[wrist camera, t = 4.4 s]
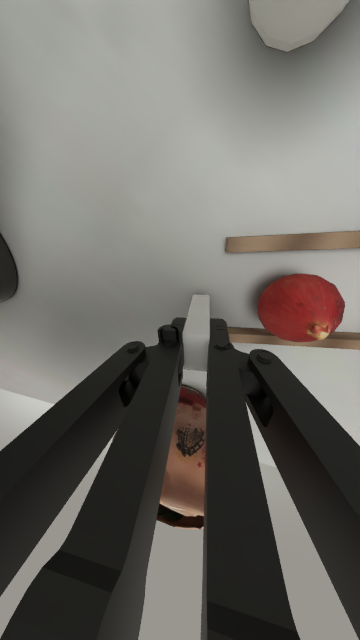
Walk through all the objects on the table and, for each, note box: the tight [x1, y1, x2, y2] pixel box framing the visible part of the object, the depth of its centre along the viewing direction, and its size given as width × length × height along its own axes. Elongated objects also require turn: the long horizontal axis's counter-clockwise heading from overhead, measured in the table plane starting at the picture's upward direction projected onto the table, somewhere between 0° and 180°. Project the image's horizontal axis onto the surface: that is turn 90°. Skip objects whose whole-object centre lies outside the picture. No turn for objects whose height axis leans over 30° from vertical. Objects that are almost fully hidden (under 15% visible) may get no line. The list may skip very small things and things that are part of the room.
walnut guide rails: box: [225, 231, 360, 350], centre depth 15 cm, size 23×11×2 cm, turn 92°
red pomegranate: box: [257, 274, 345, 342], centre depth 13 cm, size 6×6×8 cm
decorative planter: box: [113, 386, 206, 529], centre depth 22 cm, size 20×12×14 cm, turn 74°
